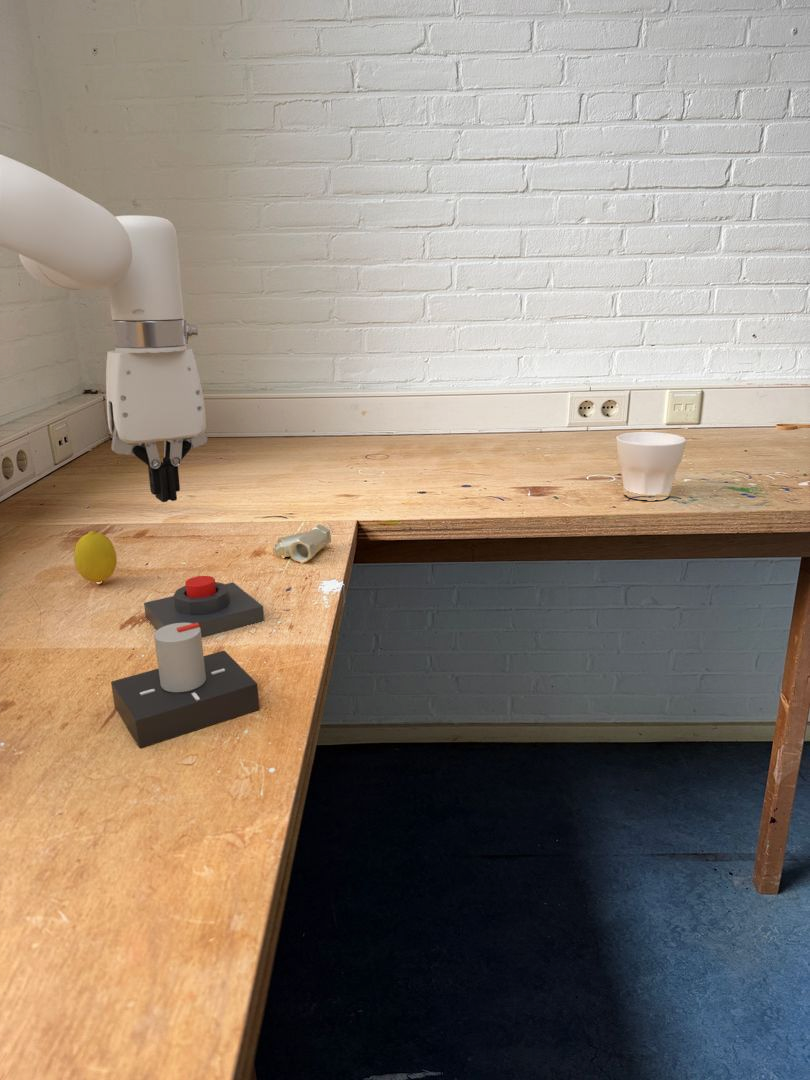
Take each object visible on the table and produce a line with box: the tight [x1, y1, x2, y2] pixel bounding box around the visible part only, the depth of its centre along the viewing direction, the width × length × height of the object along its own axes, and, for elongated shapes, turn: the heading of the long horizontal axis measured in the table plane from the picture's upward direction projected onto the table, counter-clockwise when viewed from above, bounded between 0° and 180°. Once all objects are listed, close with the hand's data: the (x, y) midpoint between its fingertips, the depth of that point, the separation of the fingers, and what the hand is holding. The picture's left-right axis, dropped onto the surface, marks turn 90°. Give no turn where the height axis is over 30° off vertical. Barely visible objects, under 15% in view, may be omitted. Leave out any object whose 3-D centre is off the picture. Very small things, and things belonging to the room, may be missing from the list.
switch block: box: [143, 581, 265, 639], centre depth 100 cm, size 12×10×4 cm
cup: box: [615, 431, 687, 495], centre depth 150 cm, size 12×12×11 cm
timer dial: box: [153, 623, 206, 693], centre depth 79 cm, size 4×4×6 cm
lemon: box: [73, 530, 118, 583], centre depth 112 cm, size 6×6×8 cm
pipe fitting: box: [272, 524, 332, 563], centre depth 123 cm, size 8×4×7 cm
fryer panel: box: [110, 650, 260, 749], centre depth 80 cm, size 12×9×3 cm
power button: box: [185, 575, 216, 598], centre depth 100 cm, size 4×4×2 cm
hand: (166, 498), depth 93 cm, fingers closed
